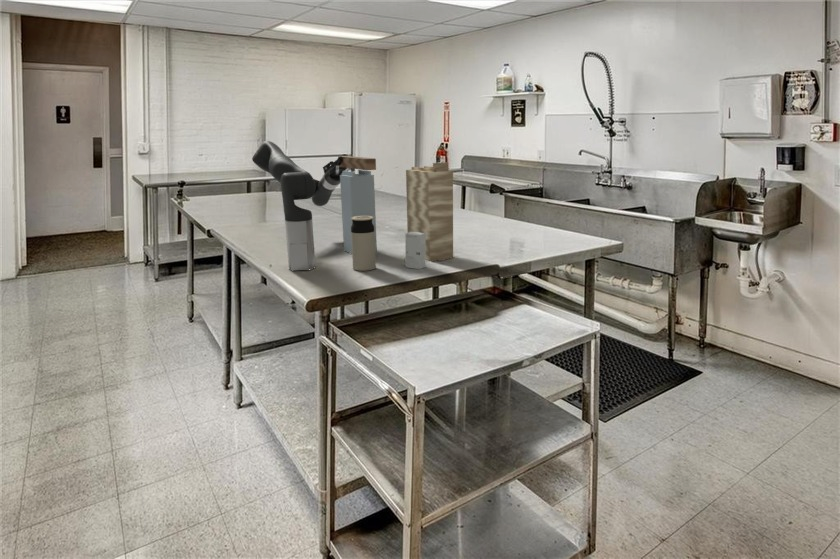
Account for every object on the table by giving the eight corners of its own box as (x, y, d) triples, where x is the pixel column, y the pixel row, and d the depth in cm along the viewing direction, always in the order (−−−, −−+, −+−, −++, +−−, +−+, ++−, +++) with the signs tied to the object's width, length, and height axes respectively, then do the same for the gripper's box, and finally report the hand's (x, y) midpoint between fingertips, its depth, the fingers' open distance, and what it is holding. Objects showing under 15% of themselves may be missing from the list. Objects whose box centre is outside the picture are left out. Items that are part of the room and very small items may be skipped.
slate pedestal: (376, 251, 220) (373, 170, 212) (354, 255, 215) (349, 172, 207) (366, 248, 228) (363, 169, 219) (344, 251, 223) (339, 171, 214)
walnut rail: (376, 169, 204) (375, 158, 203) (366, 170, 202) (365, 159, 201) (347, 166, 224) (347, 155, 223) (338, 166, 222) (338, 156, 221)
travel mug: (380, 268, 195) (378, 216, 190) (363, 272, 189) (361, 219, 185) (365, 264, 200) (362, 214, 195) (348, 269, 195) (345, 217, 190)
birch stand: (453, 257, 208) (452, 162, 199) (430, 261, 203) (429, 163, 194) (429, 250, 221) (428, 160, 212) (408, 253, 216) (405, 161, 207)
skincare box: (405, 267, 195) (404, 233, 192) (411, 264, 199) (410, 231, 196) (420, 269, 192) (419, 234, 189) (426, 266, 196) (426, 232, 193)
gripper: (314, 170, 230) (327, 150, 216) (346, 168, 237) (360, 148, 223) (319, 186, 229) (332, 167, 214) (350, 184, 236) (365, 165, 222)
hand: (347, 158), depth 219 cm, fingers closed on walnut rail, 4 cm apart
